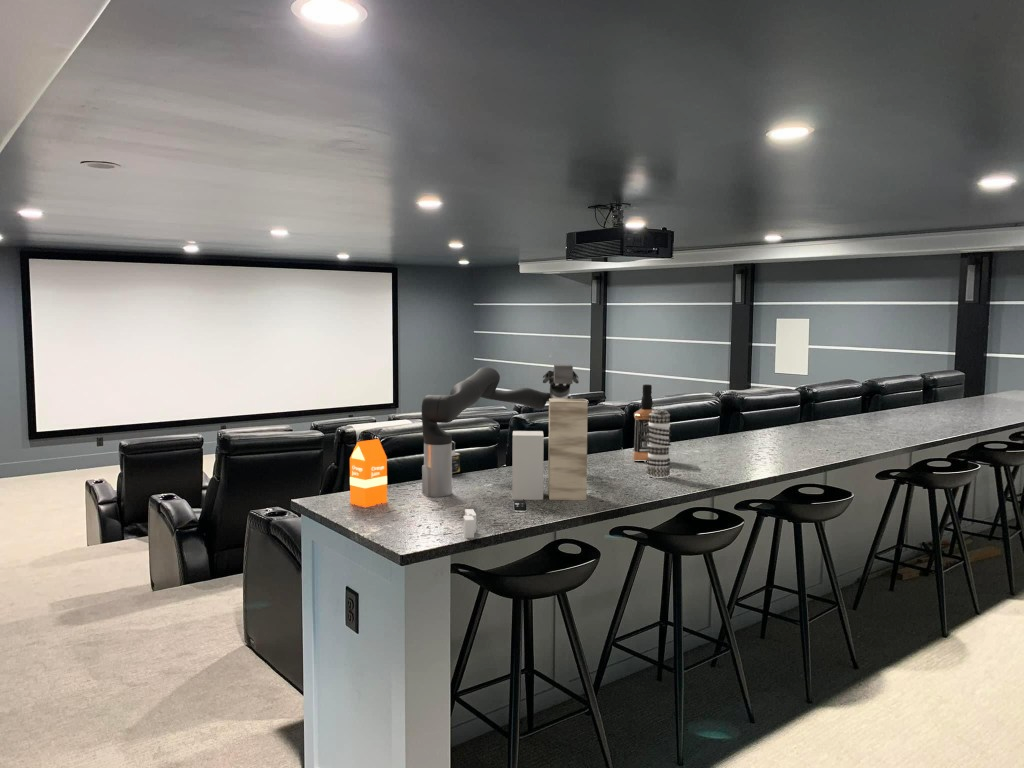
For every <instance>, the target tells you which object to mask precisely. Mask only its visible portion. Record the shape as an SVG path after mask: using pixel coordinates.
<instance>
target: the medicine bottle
mask: <svg viewBox="0 0 1024 768" xmlns="http://www.w3.org/2000/svg"><path fill="white" fill-rule="evenodd" d="M460 462H461V453H458V452H456V442H455V441H453V440H452V474H456V473H460V471H461V463H460Z"/></svg>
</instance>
